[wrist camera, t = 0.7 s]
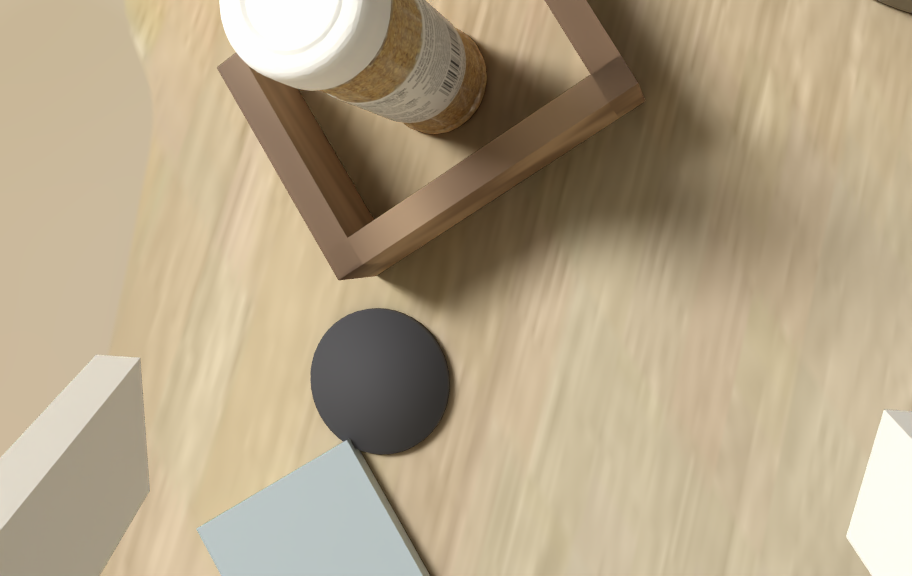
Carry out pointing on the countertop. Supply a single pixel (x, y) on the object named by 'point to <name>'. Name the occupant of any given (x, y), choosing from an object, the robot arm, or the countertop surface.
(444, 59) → the spice jar
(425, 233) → the cubby
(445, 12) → the countertop surface
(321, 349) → the dark grey round disc
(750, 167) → the countertop surface
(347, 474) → the coaster
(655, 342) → the countertop surface
